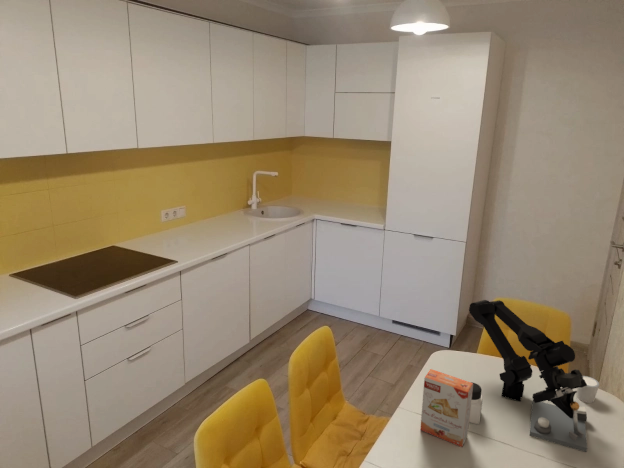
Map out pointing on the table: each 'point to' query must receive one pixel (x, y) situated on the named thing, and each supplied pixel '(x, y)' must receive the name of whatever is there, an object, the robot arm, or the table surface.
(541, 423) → the push button
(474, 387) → the medicine bottle
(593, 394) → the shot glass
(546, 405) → the switch panel
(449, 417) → the cracker box
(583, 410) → the rocker switch
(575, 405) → the toggle lever
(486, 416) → the table surface
